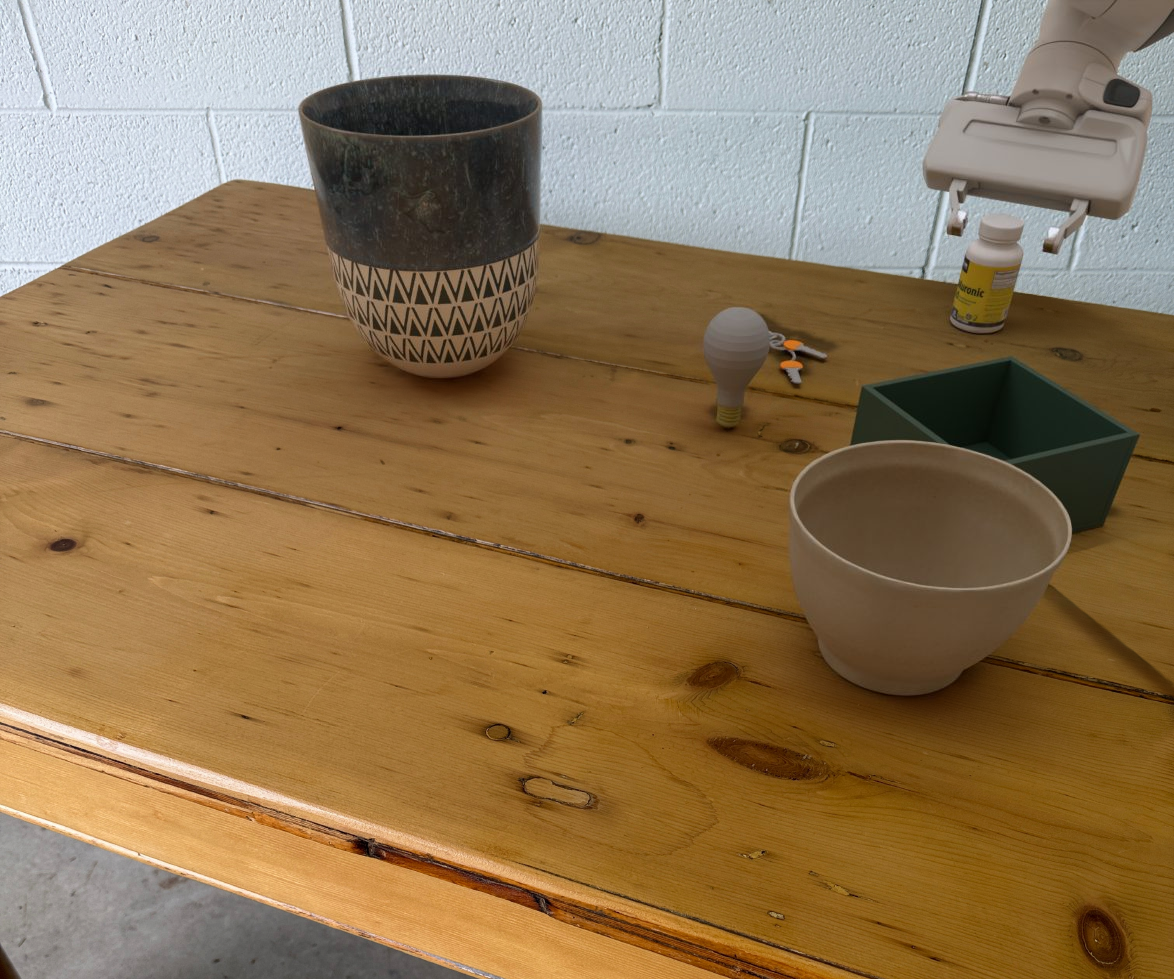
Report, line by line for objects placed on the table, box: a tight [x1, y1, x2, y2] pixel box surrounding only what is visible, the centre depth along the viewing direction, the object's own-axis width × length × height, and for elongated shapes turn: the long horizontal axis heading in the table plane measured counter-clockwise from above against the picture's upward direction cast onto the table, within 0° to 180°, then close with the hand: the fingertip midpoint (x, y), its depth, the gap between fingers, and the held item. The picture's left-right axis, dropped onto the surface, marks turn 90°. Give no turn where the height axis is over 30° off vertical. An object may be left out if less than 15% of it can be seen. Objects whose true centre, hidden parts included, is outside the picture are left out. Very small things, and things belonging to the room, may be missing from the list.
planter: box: [297, 73, 543, 379], centre depth 92 cm, size 20×20×21 cm
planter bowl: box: [788, 440, 1073, 696], centre depth 65 cm, size 16×16×11 cm
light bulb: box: [702, 306, 771, 429], centre depth 88 cm, size 6×6×10 cm
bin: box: [849, 355, 1141, 535], centre depth 80 cm, size 14×14×8 cm
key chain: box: [769, 330, 828, 385], centre depth 101 cm, size 13×7×1 cm, turn 36°
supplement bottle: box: [949, 213, 1025, 334], centre depth 104 cm, size 5×5×10 cm
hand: (1001, 241), depth 103 cm, fingers open, 8 cm apart
